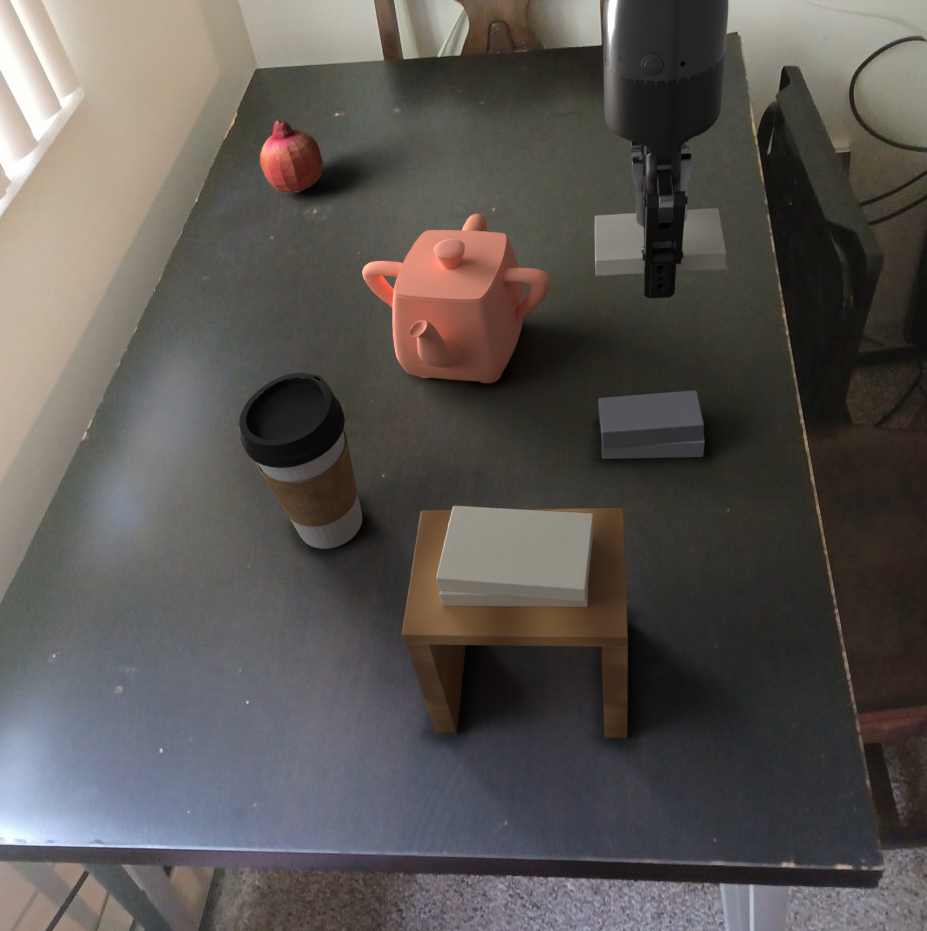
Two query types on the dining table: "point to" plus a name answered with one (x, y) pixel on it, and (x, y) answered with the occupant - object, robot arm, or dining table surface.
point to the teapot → (458, 302)
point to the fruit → (290, 158)
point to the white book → (625, 237)
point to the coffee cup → (304, 456)
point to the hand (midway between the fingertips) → (656, 268)
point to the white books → (515, 558)
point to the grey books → (651, 426)
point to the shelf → (517, 621)
